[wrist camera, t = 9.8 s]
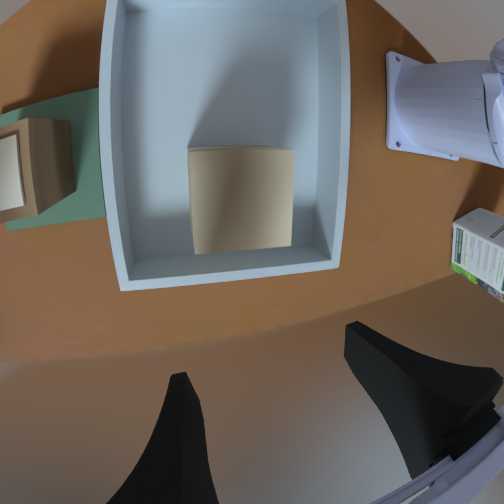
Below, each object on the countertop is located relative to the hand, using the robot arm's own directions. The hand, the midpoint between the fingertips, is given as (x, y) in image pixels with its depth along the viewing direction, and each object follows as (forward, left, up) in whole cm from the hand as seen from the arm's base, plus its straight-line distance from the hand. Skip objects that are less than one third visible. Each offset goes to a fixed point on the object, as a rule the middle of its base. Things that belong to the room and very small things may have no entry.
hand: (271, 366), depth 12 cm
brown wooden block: (+12, -9, -9) cm, 17 cm away
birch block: (0, -6, -9) cm, 11 cm away
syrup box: (-26, -1, -10) cm, 27 cm away
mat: (+12, -9, -9) cm, 18 cm away
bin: (0, -10, -9) cm, 14 cm away
